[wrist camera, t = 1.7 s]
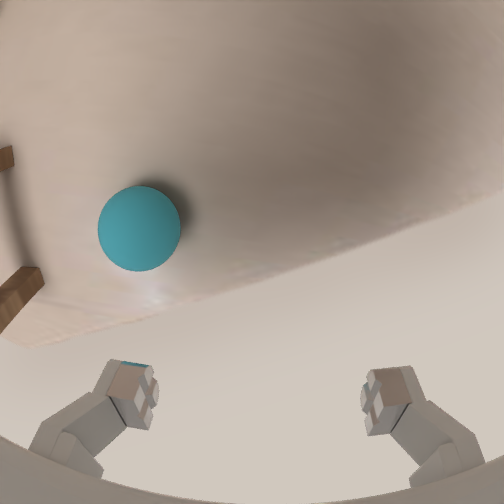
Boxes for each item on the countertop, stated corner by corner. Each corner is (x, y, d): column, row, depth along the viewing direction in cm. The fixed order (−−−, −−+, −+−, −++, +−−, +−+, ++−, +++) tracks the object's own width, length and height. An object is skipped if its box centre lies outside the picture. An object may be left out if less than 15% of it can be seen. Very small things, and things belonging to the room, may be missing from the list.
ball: (134, 163, 22) (95, 185, 16) (202, 199, 23) (181, 231, 18) (110, 227, 24) (75, 261, 19) (171, 259, 25) (148, 302, 20)
